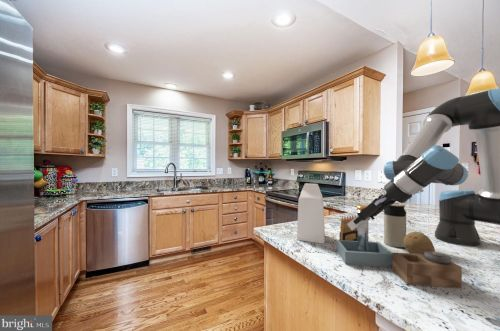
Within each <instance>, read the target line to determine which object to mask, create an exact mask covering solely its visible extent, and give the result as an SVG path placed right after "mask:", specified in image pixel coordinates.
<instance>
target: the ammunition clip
mask: <svg viewBox="0 0 500 331" xmlns="http://www.w3.org/2000/svg"><path fill="white" fill-rule="evenodd" d="M355 217H357V216H356V214H354V215H353V214H352V215H349V216H348V215H347V216H344V217H343V216H342V217H341V219H340V228H339V229H340V231H339V240H348V241H358V233H357V227H356V228H355V229H354V230H351V229H350V228H349V226H348V225H347V224H348V223H349V222H350V221H352V220H353V219H354V218H355Z"/></svg>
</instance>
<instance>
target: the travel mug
mask: <svg viewBox="0 0 500 331" xmlns="http://www.w3.org/2000/svg"><path fill="white" fill-rule="evenodd" d="M405 206H406V204H405V203H400V202H397V201H396V202H395V203H394V204H392V205H390V206H389V207H387V208H386V209H384V210H383V243H384V244H385V245H387V246H390V247H393V248H401V249H402V248H405V246H404V243H403V240H404V238H405V236H406V235H407V211H406V210H405Z"/></svg>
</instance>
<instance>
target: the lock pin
mask: <svg viewBox="0 0 500 331" xmlns="http://www.w3.org/2000/svg"><path fill="white" fill-rule="evenodd" d="M367 206H368V205H362V204H361V205H359V204H358V205H356V209H357V212H356V214H357V213H358V212H359V213H360V212H361V211H362V210H363V209H364V208H366V207H367ZM357 216H358V215H357ZM357 216H356V217H357ZM357 233H358V249H359V250H361V251H368V242H369V221H368V218H367V219H366V220H365V221H364V222H363V223H361V224H360V225H359V226H358V227H357Z"/></svg>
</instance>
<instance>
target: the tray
mask: <svg viewBox="0 0 500 331" xmlns="http://www.w3.org/2000/svg"><path fill="white" fill-rule="evenodd" d="M335 241H336V243H335V244H336V249H335V251H336V252H337V253H338V255H339V257H340V258H341V259H342V261H343V263H344V264H345V265H356V266H368V267H369V266H370V267H382V268H383V267H386V268H393V266H392V252H393V251H391V250H390V249H388V248H387V247H386V246H385V245H383V244H382V243H381V242H380V241H368V251H361V250H359V249H358V241H348V240H340V239H336V240H335Z"/></svg>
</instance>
